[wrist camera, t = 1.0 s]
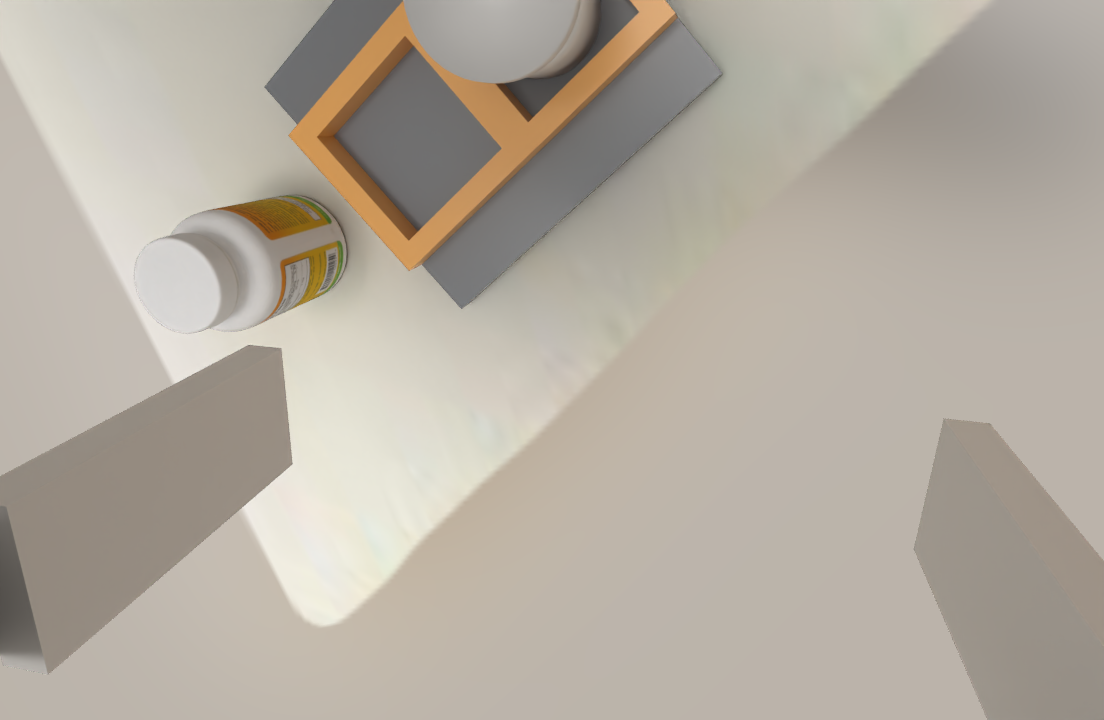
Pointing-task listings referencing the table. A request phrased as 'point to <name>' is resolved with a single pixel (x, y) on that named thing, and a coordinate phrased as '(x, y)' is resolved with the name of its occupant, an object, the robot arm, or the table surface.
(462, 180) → the orange bottle caddy
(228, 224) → the supplement bottle
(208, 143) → the table surface
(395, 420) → the table surface
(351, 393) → the table surface
